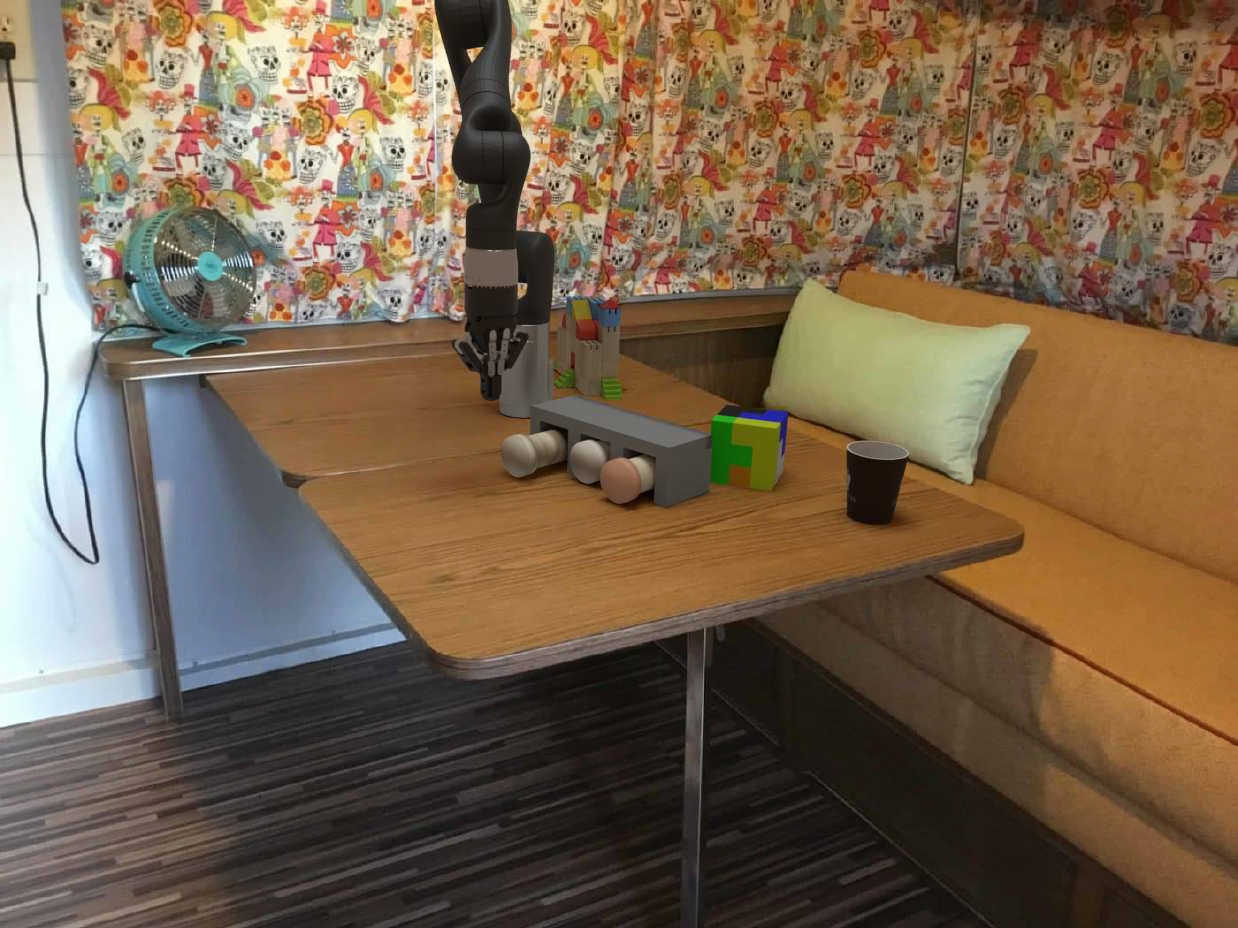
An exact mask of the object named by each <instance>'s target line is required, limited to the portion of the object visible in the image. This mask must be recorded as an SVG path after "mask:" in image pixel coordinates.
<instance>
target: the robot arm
mask: <svg viewBox="0 0 1238 928" xmlns="http://www.w3.org/2000/svg"><path fill="white" fill-rule="evenodd" d="M433 2H434V4H433V5H434V13H435V17H436V23H437V27H438V30H439V33H440V38H441V41H442V45H443V48H444V51H445V56H446V58H447V62H448V65H449V68H450V69H449V70H450V72H451V75H452V80H453V83H454V87H455V91H456V95H457V98H458V104H459V109H460V114H461V122H460V127H459V130H458V132H457V135H456V136H455V139H454V143H453V147H452V151H451V167H452V170H453V172H454V175H456V177H457V178H458V179H459V180H460V181H461V182H463V183H464V184H468V185H477V189H478V195H479V200H480V202H475V203H473V204H470V205H469V206H467V209H466V211H465V255H464V261H463V288H464V289H463V292H464V293H463V295H464V296H463V299H464V300H463V301H464V303H463V304H464V305H463V307H464V313H465V315H466V323H465V325H464V333H463V334H462V335H461V336H460V338H458V339H456V338H455V339H452V341H451V347H452V348H453V350H454V351H455V353H456V355H458V356H459V358H460V360H461V361H462V362H463V364H464V365H465V366H466V368H467V369H468V370H469V372H472V373H477V374H478V375H479V377H480V385H479V386H480V387H479V389H480V390H479V391H480V392H479V393H480V396H481V397H482V400H484V401H488V402H493V401H495V402H496V401H498V400H499V405H498V406H499V407H498V409H499V413H501V415H502V414H503V415H504V416H508V417H513V418H530V405H534V404H539V403H543V402H547V401H552V400H554V398H553V397H554V369H553V362H554V360H551V359H550V351H551V350H550V343H551V312H552V311H551V310H552V305H553V296H554V295H553V291H554V276H555V260H556V256H555V253H556V252H555V244H554V241H553V239H552V237H551V236H550V235H549V233H547V232H543V231H534V230H533V231H531V230H519V229H517V226H518V225H517V223H518V214H519V207H520V201H521V197H522V193H523V189H524V185H525V183H526V179H527V177H528V173H529V170H530V165H531V159H532V156H531V155H532V154H531V148H530V145H529V143H528V141H527V139H526V137H525V136H524V134H523V130H522V125H521V123H520V122H521V121H519V119H518V117H517V116H516V114H515V113H514V111H513V108H512V101H511V92H510V68H511V60H512V59H511V57H512V42H513V41H512V40H513V39H512V38H513V37H512V36H513V21H512V13H511V8H510V2H509V0H433ZM479 48H482V49H481V50H480V51H479V53H478V54H477V55H476V56H475V58H474V60H473V61H472V60H471V57H470V55H469V53H468V50H473V49H479ZM519 284H526V290H525V293H524V295H522V296H521V297H519Z"/></svg>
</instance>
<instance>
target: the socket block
mask: <svg viewBox="0 0 1238 928" xmlns="http://www.w3.org/2000/svg"><path fill="white" fill-rule="evenodd" d="M529 418H530V423H529V425H530V426H529V427H530V428H529V435H533V434H537V433H541V432H545V431H549V430H553V429H557V428H564V429H566V430H567V431H568V459H567V467H566V468H567V473H568V474H571V475H573V476H575V475H574V473H573V471H572V468H571V465H570V453H571V450H572V448H573V446H574V445H575V444H577V443H579V442H582V441H586V440H594V441H596V442H597V441H601V440H603V441H606V442H609V443H611V445H610V460H614V459H617V458H626V459H631V458H635V457H638V456H641V455H645V454H647V455H650V456H653V457H656V469H655V488H654V490H653V491H654V492H653V504H655V505H658V506H660V507H664V508H668V507H671V506H673V505H676V504H679V503H682V502H685V501H688V500H689V499H693V498H696V497H699V496H701V495H704V494H707V493H709V492H710V483H711V482H710V470H711V455H712V441H713V434H711V433H709V432H705V431H703V430H699V429H695V428H693V427H692V428H691V427H688V426H685V425H681V424H678V423H674V422H671V421H667V420H663V419H660V418H656V417H652V416H650V415H646V414H642V413H640V412H636V411H631V410H628V409H625V408H621V407H619V406H614V405H611V404H607V403H605V402H600V401H597V400H594V399H590V398H586V397H584V396H580V395H570V396H566V397H562V398H557V399H553V400H552V401H547V402H543V403H539V404H534V405H530V417H529Z"/></svg>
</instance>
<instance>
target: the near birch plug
mask: <svg viewBox="0 0 1238 928" xmlns="http://www.w3.org/2000/svg"><path fill="white" fill-rule="evenodd" d="M500 448H501V449H500V457H501V460H502V463H503V466H504V468H505V470H506V471H507V472H508V473H509V474H510V475H511V476H513V477H514V478H521V477H525V476H526V477H527V476H528V475H532V474H533V473H534V472H535V471H536V470H537V469H539V468H542V467H545V466H549V465H553V464H557V463H561V462H563V461H566V460H567V461H568V431H567V430H566V429H564V428H557V429H553V430H549V431H545V432H541V433H537V434H533V435H530V434H529V435H526V434H524V433H518V434H513V435H509V436H507V437H506V438H505V439H504V440H503V441H502V444H501V447H500Z"/></svg>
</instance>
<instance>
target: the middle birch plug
mask: <svg viewBox="0 0 1238 928" xmlns="http://www.w3.org/2000/svg"><path fill="white" fill-rule="evenodd" d="M610 445H611V443H609V442H606V441H603V440H601V441H597V442H596V441H594V440H586V441H582V442H579V443H577V444H575V445H574V446H573V448H572V450H571V453H570V465H571V468H572V471H573V473H574V475H573V476H575V477H576V479H577V480H579V481H580V482H582V483H584V484H586V485H587V484H593V483H596V482H599V481H600V473H601V469H602V467H603V465H604V464H605V463H606V462H608V461H610Z"/></svg>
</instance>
